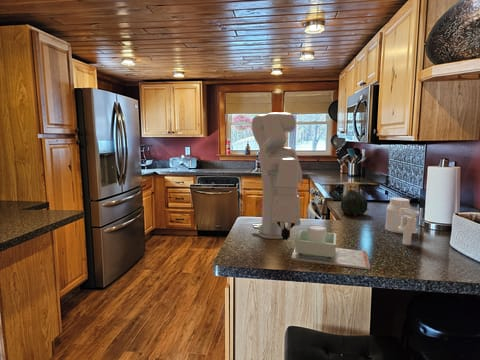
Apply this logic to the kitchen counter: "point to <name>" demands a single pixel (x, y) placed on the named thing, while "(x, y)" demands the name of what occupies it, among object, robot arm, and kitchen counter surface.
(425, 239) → the kitchen counter surface
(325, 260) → the white flat board
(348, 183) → the candy box
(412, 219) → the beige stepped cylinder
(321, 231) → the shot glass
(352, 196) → the squash
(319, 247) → the pale green open box
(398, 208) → the jar
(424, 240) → the kitchen counter surface
